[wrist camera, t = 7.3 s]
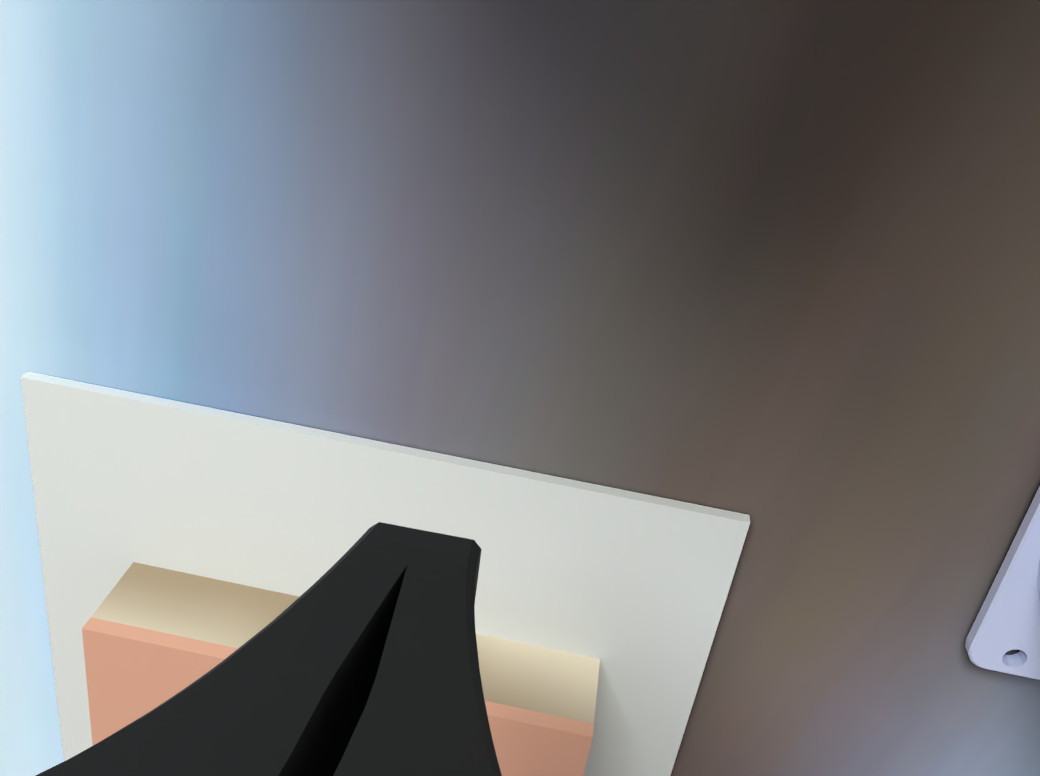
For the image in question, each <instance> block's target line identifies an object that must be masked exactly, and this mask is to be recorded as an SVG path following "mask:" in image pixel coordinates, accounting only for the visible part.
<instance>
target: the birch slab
mask: <svg viewBox="0 0 1040 776" xmlns="http://www.w3.org/2000/svg"><path fill="white" fill-rule="evenodd" d="M298 598H299V596H294V595H289V594H284V593H280V592H275V591H270V590H265V589H260V588H256V587H251V586H246V585H241V584H236V583H232V582H227V581H222V580H217V579H212V578H208V577H203V576H198V575H193V574H188V573H184V572H179V571H174V570H169V569H165V568H160V567H155V566H150V565H145V564H141V563H136V562H133V563H132V565H131V566H130V567H129V568H128V570H127V571H126V572H125V574H124V575H123V576H122V577H121V579H120V580H119V581H118V583H117V584H116V585H115V586H114V588H113V589H112V590H111V592H110V593H109V594H108V595H107V597H106V598H105V599H104V601H103V602H102V603H101V605H100V606H99V607H98V608H97V610H96V611H95V612H94V614H93V615H92V616H91V617H90V619H89V620H88V621H87V623H86V624H85V625H84V626H83V628H82V636H83V647H84V658H85V669H86V680H87V690H88V701H89V712H90V723H91V734H92V745H95V744H97V743H99V742H100V741H102V740H104V739H105V738H107V737H109V736H110V735H112V734H114V733H115V732H117V731H119V730H120V729H122V728H124V727H125V726H127V725H129V724H130V723H132V722H134V721H135V720H137V719H138V718H140V717H142V716H143V715H145V714H147V713H148V712H150V711H152V710H153V709H155V708H156V707H158V706H159V705H161V704H162V703H164V702H165V701H167V700H168V699H170V698H171V697H173V696H174V695H176V694H177V693H179V692H180V691H182V690H183V689H185V688H186V687H187V686H189V685H190V684H192V683H193V682H195V681H196V680H197V679H199V678H200V677H202V676H203V675H204V674H206V673H207V672H208V671H210V670H211V669H213V668H214V667H215V666H217V665H218V664H219V663H221V662H222V661H223V660H225V659H226V658H227V657H228V656H230V655H231V654H232V653H233V652H235V651H236V650H237V649H238V648H240V647H241V646H242V645H243V644H245V643H246V642H247V641H248V640H250V639H251V638H252V637H253V636H255V635H256V634H257V633H258V632H260V631H261V630H262V629H263V628H265V627H266V626H267V625H268V624H269V623H271V622H272V621H273V620H274V619H275V618H277V617H278V616H279V615H280V614H281V613H282V612H283V611H284V610H285V609H287V608H288V607H289V606H290V605H291V604H292V603H293V602H294V601H296V600H297V599H298ZM476 641H477V650H478V659H479V669H480V675H481V682H482V689H483V694H484V700H485V705H486V710H487V716H488V721H489V726H490V730H491V735H492V739H493V743H494V748H495V752H496V756H497V760H498V763H499V767H500V771H501V774H502V776H583V773H584V770H585V766H586V762H587V758H588V754H589V750H590V746H591V742H592V738H593V729H594V718H595V708H596V698H597V687H598V677H599V666H600V659H596V658H592V657H587V656H582V655H577V654H572V653H568V652H563V651H558V650H553V649H548V648H544V647H539V646H534V645H529V644H524V643H520V642H515V641H510V640H505V639H500V638H496V637H491V636H486V635H481V634H476Z"/></svg>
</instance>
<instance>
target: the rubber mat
mask: <svg viewBox="0 0 1040 776" xmlns="http://www.w3.org/2000/svg"><path fill="white" fill-rule="evenodd" d="M20 378H21V386H22V395H23V404H24V413H25V422H26V431H27V439H28V448H29V457H30V466H31V475H32V483H33V492H34V501H35V510H36V519H37V528H38V536H39V545H40V554H41V563H42V572H43V580H44V589H45V598H46V607H47V616H48V625H49V633H50V642H51V651H52V660H53V669H54V677H55V686H56V695H57V704H58V713H59V722H60V730H61V739H62V748H63V757H64V761H66V760H68V759H70V758H72V757H73V756H75V755H77V754H79V753H81V752H82V751H84V750H86V749H88V748H90V747H91V746H93V745H92V734H91V723H90V712H89V701H88V690H87V680H86V669H85V658H84V647H83V636H82V628H83V626H84V625H85V624H86V623H87V621H88V620H89V619H90V617H91V616H92V615H93V614H94V612H95V611H96V610H97V608H98V607H99V606H100V605H101V603H102V602H103V601H104V599H105V598H106V597H107V595H108V594H109V593H110V592H111V590H112V589H113V588H114V586H115V585H116V584H117V583H118V581H119V580H120V579H121V577H122V576H123V575H124V574H125V572H126V571H127V570H128V568H129V567H130V566H131V565H132V563H133V562H136V563H141V564H145V565H150V566H155V567H160V568H165V569H169V570H174V571H179V572H184V573H188V574H193V575H198V576H203V577H208V578H212V579H217V580H222V581H227V582H232V583H236V584H241V585H246V586H251V587H256V588H260V589H265V590H270V591H275V592H280V593H284V594H289V595H294V596H299V597H300V596H301V595H302V594H303V593H304V592H306V591H307V590H308V589H309V588H310V587H311V586H312V585H313V584H314V583H315V582H317V581H318V580H319V579H320V578H321V577H322V576H323V575H324V574H325V573H326V572H327V571H328V570H329V569H330V568H331V567H332V566H333V565H334V564H335V563H336V562H337V561H338V560H339V559H340V558H341V557H342V556H343V555H344V554H345V553H346V552H347V551H348V550H349V549H350V548H351V547H352V546H353V545H354V544H355V543H356V542H357V541H358V540H359V539H360V538H361V537H362V536H363V534H364V533H365V532H366V531H367V530H368V529H369V528H370V527H372V526H373V525H375V524H377V523H378V522H382V523H387V524H393V525H398V526H403V527H408V528H414V529H419V530H424V531H430V532H435V533H440V534H446V535H451V536H456V537H462V538H467V539H472V540H475V542H476V543H477V544H478V545H479V547H480V548H481V549H482V550H481V558H480V565H479V573H478V581H477V589H476V596H475V604H474V606H475V631H476V634H481V635H486V636H491V637H496V638H500V639H505V640H510V641H515V642H520V643H524V644H529V645H534V646H539V647H544V648H548V649H553V650H558V651H563V652H568V653H572V654H577V655H582V656H587V657H592V658H596V659H600V666H599V677H598V687H597V698H596V708H595V718H594V729H593V738H592V742H591V746H590V750H589V754H588V758H587V762H586V766H585V770H584V773H583V776H670V775H671V772H672V769H673V766H674V763H675V759H676V756H677V753H678V750H679V747H680V744H681V740H682V737H683V734H684V731H685V728H686V725H687V721H688V718H689V715H690V712H691V709H692V706H693V702H694V699H695V696H696V693H697V690H698V687H699V683H700V680H701V677H702V674H703V671H704V668H705V664H706V661H707V658H708V655H709V652H710V649H711V645H712V642H713V639H714V636H715V633H716V630H717V626H718V623H719V620H720V617H721V614H722V611H723V607H724V604H725V601H726V598H727V595H728V592H729V588H730V585H731V582H732V579H733V576H734V573H735V570H736V566H737V563H738V560H739V557H740V554H741V551H742V547H743V544H744V541H745V538H746V535H747V532H748V528H749V525H750V516H749V515H747V514H742V513H737V512H732V511H727V510H722V509H717V508H712V507H707V506H702V505H697V504H692V503H687V502H682V501H677V500H672V499H667V498H661V497H656V496H651V495H646V494H641V493H636V492H631V491H626V490H621V489H616V488H611V487H606V486H601V485H596V484H591V483H586V482H581V481H576V480H571V479H566V478H561V477H556V476H551V475H546V474H541V473H536V472H531V471H526V470H521V469H516V468H511V467H506V466H501V465H496V464H491V463H486V462H480V461H475V460H470V459H465V458H460V457H455V456H450V455H445V454H440V453H435V452H430V451H425V450H420V449H415V448H410V447H405V446H400V445H395V444H390V443H385V442H380V441H375V440H370V439H365V438H360V437H355V436H350V435H345V434H340V433H335V432H330V431H325V430H320V429H315V428H310V427H305V426H300V425H294V424H289V423H284V422H279V421H274V420H269V419H264V418H259V417H254V416H249V415H244V414H239V413H234V412H229V411H224V410H219V409H214V408H209V407H204V406H199V405H194V404H189V403H184V402H179V401H174V400H169V399H164V398H159V397H154V396H149V395H144V394H139V393H134V392H129V391H124V390H119V389H113V388H108V387H103V386H98V385H93V384H88V383H83V382H78V381H73V380H68V379H63V378H58V377H53V376H48V375H43V374H38V373H33V372H27V373H25V374H24V375H23V376H21V377H20Z"/></svg>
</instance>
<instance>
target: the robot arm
mask: <svg viewBox="0 0 1040 776" xmlns="http://www.w3.org/2000/svg"><path fill="white" fill-rule="evenodd" d="M481 550H482V549H481V548H480V547H479V545H478V544H477V543H476V542H475V540H472V539H467V538H462V537H456V536H451V535H446V534H440V533H435V532H430V531H424V530H419V529H414V528H408V527H403V526H398V525H393V524H387V523H382V522H378V523H377V524H375V525H373V526H372V527H370V528H369V529H368V530H367V531H366V532H365V533H364V534H363V536H362V537H361V538H360V539H359V540H358V541H357V542H356V543H355V544H354V545H353V546H352V547H351V548H350V549H349V550H348V551H347V552H346V553H345V554H344V555H343V556H342V557H341V558H340V559H339V560H338V561H337V562H336V563H335V564H334V565H333V566H332V567H331V568H330V569H329V570H328V571H327V572H326V573H325V574H324V575H323V576H322V577H321V578H320V579H319V580H318V581H317V582H315V583H314V584H313V585H312V586H311V587H310V588H309V589H308V590H307V591H306V592H304V593H303V594H302V595H301V596H300V597H299V598H298V599H297V600H296V601H294V602H293V603H292V604H291V605H290V606H289V607H288V608H287V609H285V610H284V611H283V612H282V613H281V614H280V615H279V616H278V617H277V618H275V619H274V620H273V621H272V622H271V623H269V624H268V625H267V626H266V627H265V628H263V629H262V630H261V631H260V632H258V633H257V634H256V635H255V636H253V637H252V638H251V639H250V640H248V641H247V642H246V643H245V644H243V645H242V646H241V647H240V648H238V649H237V650H236V651H235V652H233V653H232V654H231V655H230V656H228V657H227V658H226V659H225V660H223V661H222V662H221V663H219V664H218V665H217V666H215V667H214V668H213V669H211V670H210V671H208V672H207V673H206V674H204V675H203V676H202V677H200V678H199V679H197V680H196V681H195V682H193V683H192V684H190V685H189V686H187V687H186V688H185V689H183V690H182V691H180V692H179V693H177V694H176V695H174V696H173V697H171V698H170V699H168V700H167V701H165V702H164V703H162V704H161V705H159V706H158V707H156V708H155V709H153V710H152V711H150V712H148V713H147V714H145V715H143V716H142V717H140V718H138V719H137V720H135V721H134V722H132V723H130V724H129V725H127V726H125V727H124V728H122V729H120V730H119V731H117V732H115V733H114V734H112V735H110V736H109V737H107V738H105V739H104V740H102V741H100V742H99V743H97V744H95V745H93V746H91V747H90V748H88V749H86V750H84V751H82V752H81V753H79V754H77V755H75V756H73V757H72V758H70V759H68V760H66V761H64V762H62V763H60V764H58V765H56V766H54V767H52V768H50V769H48V770H46V771H44V772H42V773H40V774H38V775H36V776H502V774H501V771H500V767H499V763H498V760H497V756H496V752H495V748H494V743H493V739H492V735H491V730H490V726H489V721H488V716H487V710H486V705H485V700H484V694H483V689H482V682H481V675H480V669H479V659H478V650H477V641H476V631H475V606H474V604H475V596H476V589H477V581H478V573H479V565H480V558H481ZM965 647H966V650H967V652H968V655H969V658H970V661H971V662H973V663H974V664H975V665H976V666H978V667H981V668H984V669H988V670H993V671H998V672H1003V673H1008V674H1013V675H1018V676H1023V677H1028V678H1032V679H1037V680H1040V486H1039V488H1038V490H1037V492H1036V494H1035V497H1034V499H1033V501H1032V503H1031V505H1030V507H1029V509H1028V511H1027V513H1026V515H1025V517H1024V519H1023V522H1022V524H1021V526H1020V528H1019V530H1018V532H1017V534H1016V536H1015V538H1014V540H1013V542H1012V545H1011V547H1010V549H1009V551H1008V553H1007V555H1006V557H1005V559H1004V561H1003V563H1002V565H1001V567H1000V570H999V572H998V574H997V576H996V578H995V580H994V582H993V584H992V586H991V588H990V590H989V592H988V595H987V597H986V599H985V601H984V603H983V605H982V607H981V609H980V611H979V613H978V615H977V617H976V620H975V622H974V624H973V626H972V628H971V630H970V632H969V634H968V636H967V638H966V643H965ZM1010 650H1020V651H1019V652H1018V653H1015V654H1013V655H1004V654H1005V653H1006V652H1008V651H1010Z"/></svg>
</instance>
